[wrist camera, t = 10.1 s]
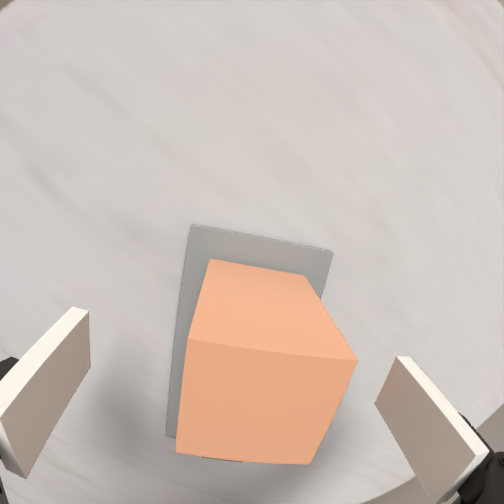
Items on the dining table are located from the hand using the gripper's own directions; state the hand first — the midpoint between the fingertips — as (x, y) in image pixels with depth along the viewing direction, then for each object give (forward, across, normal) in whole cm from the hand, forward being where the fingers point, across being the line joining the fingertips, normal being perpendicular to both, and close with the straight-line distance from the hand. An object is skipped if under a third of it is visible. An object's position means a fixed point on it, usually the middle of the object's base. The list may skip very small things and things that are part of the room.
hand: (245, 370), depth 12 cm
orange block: (+6, 0, 0) cm, 6 cm away
